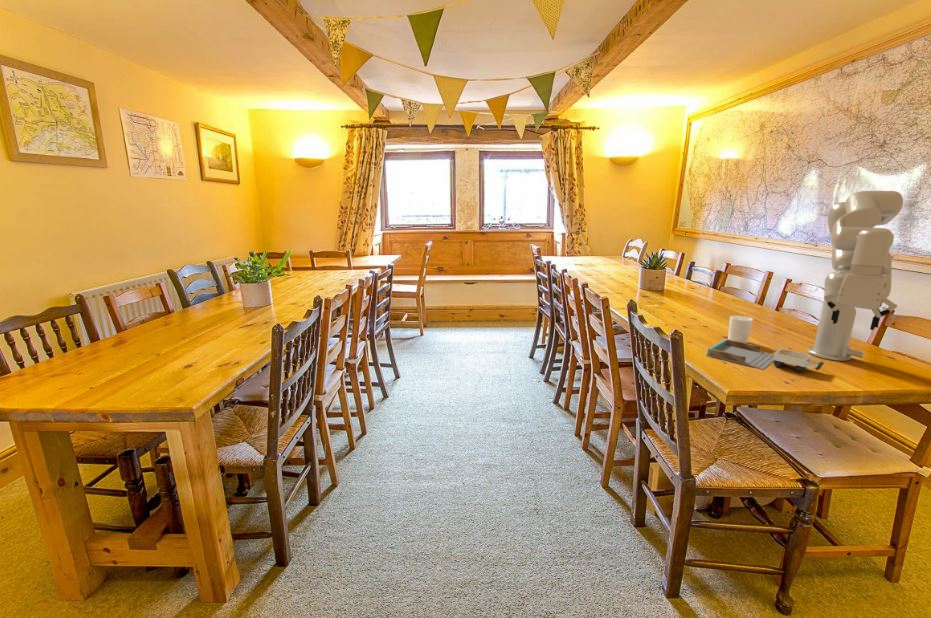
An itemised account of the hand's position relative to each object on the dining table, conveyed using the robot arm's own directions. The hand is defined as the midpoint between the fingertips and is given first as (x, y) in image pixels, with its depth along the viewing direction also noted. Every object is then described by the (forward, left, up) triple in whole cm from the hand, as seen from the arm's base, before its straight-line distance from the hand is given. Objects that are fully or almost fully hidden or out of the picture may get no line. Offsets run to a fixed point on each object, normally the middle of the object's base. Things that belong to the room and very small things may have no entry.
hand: (853, 325), depth 133 cm
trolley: (+12, 0, -18) cm, 22 cm away
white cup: (+35, -18, -18) cm, 43 cm away
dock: (+28, 0, -18) cm, 33 cm away
